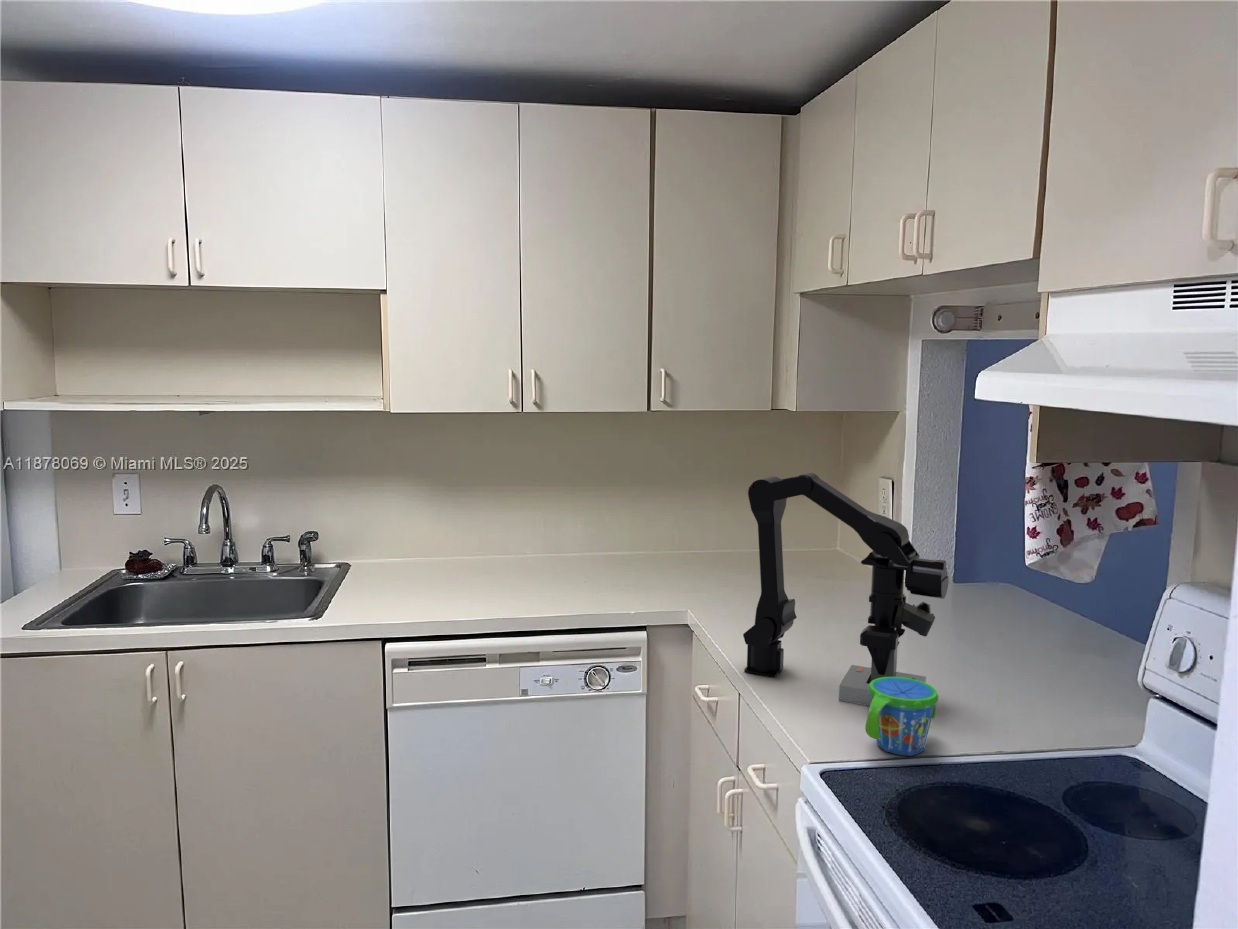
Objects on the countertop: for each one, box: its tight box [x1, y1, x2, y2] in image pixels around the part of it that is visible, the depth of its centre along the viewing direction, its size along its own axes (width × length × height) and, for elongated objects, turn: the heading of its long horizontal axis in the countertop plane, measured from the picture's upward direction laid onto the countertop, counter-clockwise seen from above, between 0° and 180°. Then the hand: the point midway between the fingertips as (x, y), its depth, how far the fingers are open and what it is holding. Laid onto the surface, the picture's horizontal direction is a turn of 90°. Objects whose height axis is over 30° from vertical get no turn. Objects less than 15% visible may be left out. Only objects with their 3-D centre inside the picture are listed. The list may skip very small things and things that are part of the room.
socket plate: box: [838, 664, 927, 707], centre depth 160 cm, size 14×12×3 cm
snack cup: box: [864, 677, 940, 757], centre depth 138 cm, size 16×10×10 cm
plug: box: [870, 645, 899, 681], centre depth 159 cm, size 4×4×9 cm
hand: (883, 670), depth 160 cm, fingers closed on plug, 4 cm apart
